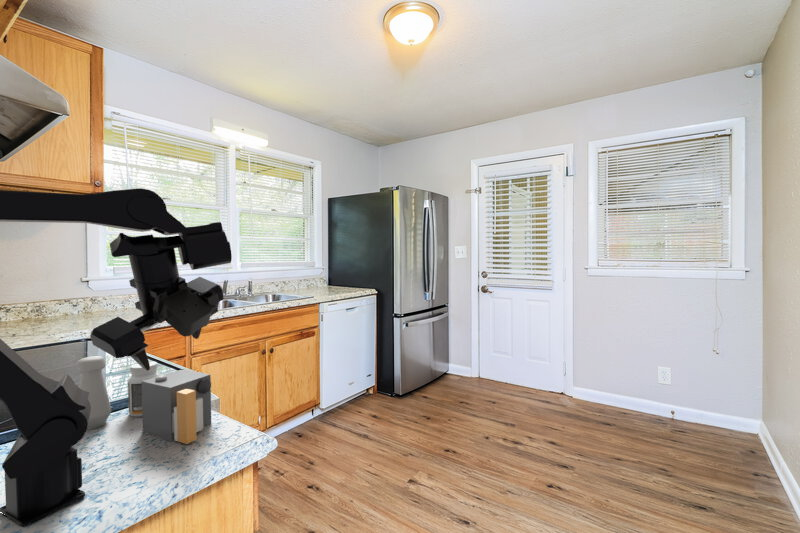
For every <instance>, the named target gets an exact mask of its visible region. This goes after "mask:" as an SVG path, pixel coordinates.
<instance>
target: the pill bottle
mask: <svg viewBox="0 0 800 533" xmlns="http://www.w3.org/2000/svg"><path fill="white" fill-rule="evenodd" d="M149 364H150V370H148V371H147V370H145V369H143V368H142V367H141V366H140V365H139V364H138V363H137V362H136V363H134V364H132V365H130V367H129V372H130V374H131V376H130V377H129V378H128V380H127V395H128V396H127V400H128V401H127V403H128V414H129V415H130V416H131V417H135V418H137V417H138V418H140V417H141V418H142V381H144V380H148V379H151V378H155V377H157V376H160V375H161V374H160V373H159V372H157V370H158V362H157V361H149Z"/></svg>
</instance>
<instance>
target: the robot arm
mask: <svg viewBox="0 0 800 533" xmlns="http://www.w3.org/2000/svg"><path fill="white" fill-rule="evenodd" d="M0 222H2V223H3V222H10V223H11V222H12V223H63V224H64V223H67V224H90V225H97V226H103V227H108V228H114V229H121V230H126V231H127V230H128V231H133V232H143V233H144V232H151V231H153V232H156V233H159V234H161V235H164V236H163V237H162V236H154V234H145V235H138V236H129V235H126V234H125V233H124V232H119V234H118V236H117V237H116V238H115V239H114V240H113V241H111V242H110V243H109V248H110V253H111V256H112V257H113V258H119V257H125V256H128V260H129V264H130V267H131V272H132V275H133V278H131V279H129V280H128V281H129V285H130V287H131V288H134V289H135V290H136V293H137V296H138V297H137V298H138V301H136V302H135V303H134V304H135V309H136V310H138V311H140V312H141V313H142V314H141V316H139V317H137V318H136V319H133V320H131V321H130V322H129V321H128V320H126V319H123V318H121V317H119V316H116V317H115V318H112V319H110V320H109V321H106V322H104V323H102V324H100V325H98V326H96V327H95V328H93V329H92V330H91V332H90V334H89V337H90V339H91V342H92V345H93V346H94V347H96V348H98V349H99V350H102V351H103V352H105V353H107V354H109V356H111V357H114V358H116V359H121V358H125V357H131V358H132V359H133V360H134V361H135V362H136V364H137V363H138V364H139V365H140V366H141V367H142V368H143V369H145V370H147V371H148V370H150V364H149V362H150V361H149V357H148V354H147V351H146V348H147V347H149V344H147V343H146V342H145V341H146V338H145V334H144V332H145V331H148V330H150V329H151V328H154V327H155V326H157V325H158V324H162V323H164V322H166V323H167V324H168V325H170V326H171V327H172V328H173V329H174V330H175V331H176V332H177V333H178V334H179V335H181V336H183V337H190V336H192V338H193V339H195V340H198V339H199V338H200V336H201V331H202V328H204V327H207V326H208V325H209V323H210V321H211V317H212V316H214V315H215V314H216V313H218V312H219V309H218V308H219V305H220V302H221V301H223V300H224V296H225V295H224V290H223V287H222V286H221V285H220V284H217V283H215V282H213V281H212V280H208V279H206V278H204V277H201V276H198V277H197V278H194V279H192V280H190V281H188V282H186V279H185V278H183V277H181V276H180V275H179V274H180V273H179V268H178V263H177V257H176V252H175V249H177V250H178V255H179V259H180V261H181V264H182V266H183V265H184V266H185V265H189V267H190V270H192V271H194V270H199V269H206V268H210V267H211V268H212V267H216V266H221V265H227V264H231V263H232V259H233V258H232V248H231V243H230V241H229V240H228V237H227V235H226V232H225V230H224V229H223V225H222V222H221V221H217V222H215V221H214V222H211V223H208V224H202V225H193V226H192V225H191V226H185V225H184V224H183V223H182V222H181V221H179V220H178V219H177V218H176V217H175V216H173V215H172V214H171V213H170V212H169V211H168V209H167V205H166V203H165V201H164V200H163V198H162V197H161V196H160V195H159V194H158V193H157V192H155V191H153V190H151V189H146V188H141V187H140V188H130V189H129V188H128V189H127V188H126V189H118V190H117V189H116V190H114V189H113V190H108V191H101V192H95V193H81V194H78V193H65V192H64V193H61V192H60V193H59V192H45V191H43V192H42V191H23V190H3V189H0ZM171 235H172V236H171ZM78 386H79V385H77V384H76V383H75V381H74V380H73V378H72V376H70V375H69V374H65V375H64V376H62V378H60V379H59V381H57V380H54V379H51V378H49V377H46V376H45V375H43V374H41V373H40V372H38V371H37V370H36V369H35V368H34V367H33V366H32V365H31V364H29V363H28V362H27V361H26V360H25V359H24V357H23V358H22V356H20V355H19V354H18V353H17V352H16V351H15V350H14V349H13V348H11V346H9V345H8V344H7V343H6V342H5V341H4V340H2V339H1V338H0V401H1V402H2V403H3V404H4V405H5V408H6V409H7V412H8V414H9V416H10V418H11V420H12V422H13V424H14V426H15V428H16V429H17V431H18V432H19V435H18V437H17V439H16V440H15V442H14V444H13V445H12V447H11V449H10V451H9V452H8V453H7V455H6V457H5V459H4V461H3V463H1V464H2V465H1V468H2V469H3V470H4V489H5V491H4V492H5V493H4V495H5V505H3V506H1V507H0V512H2V513H3V514H5V515H6V516H8V517H9V518H10V519H9V518H8V517H7V518H8V519H9V520H11V519H12V520H11V521H13V522H14V523H16V524H17V525H19V526H22V527H25V526H28V525H30V524H33V523H35V522H37V521H39V520H41V519H43V518H45V517H47V516H49V515H51V514H52V513H55V512H57V511H59V510H61V509H63V508H65V507H67V506H69V505H71V504H73V503H75V502H77V501H79V500H81V499H83V498H85V497H86V492H85V491H83V490H81V489H82V486H83V464H82V463H83V462H82V460H83V459H82V457H79V456H78V449H77V448H74V446H75V445H77V444H78V443H79V442H80V441H81V440H82V439H83V438H84V436H85V434H86V433H87V430H88V429H87V426H88V421H89V416H90V412H91V405H90V402H89V401H88V396H89V392H87V391H84V390H82V389H80V388H79V387H78ZM3 514H2V515H3ZM6 516H5V517H6Z"/></svg>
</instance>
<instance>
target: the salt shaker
mask: <svg viewBox="0 0 800 533" xmlns="http://www.w3.org/2000/svg"><path fill="white" fill-rule="evenodd" d="M104 368H106V359H105V357H104V356H101V355H94V356H93V355H92V356H91V355H90V356H86V357H83V358H81V359H78V361H77V363H76V370H77V372H80V375H79V382H78V385H77V386H78V387H79V388H80V389H82V390H84V391H87V392H89V396H88V401H89V402H90V405H91V412H90V416H89V421H88V426H87V430H93V429H95V428H99V427H102V426H104V425H105V424H106V422H107V420H108V418H109V416H110V415H111V413H112V406H111V403H110V398H109V394H108V393H109V392H108V390H107V386H106V381H105V377H104V372H103V369H104Z"/></svg>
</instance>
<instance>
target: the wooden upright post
mask: <svg viewBox="0 0 800 533" xmlns="http://www.w3.org/2000/svg"><path fill="white" fill-rule="evenodd" d="M202 430H204V427H203V398H197V399H196V391H195V390H190V389H184V390H181V391H178V392H177V406H176V407H174V441H175V442H179V443H181V444H184V445H185V444H186V445H188V444H190V443H192V442H194V441H196V440H198V439H197V438H198V437H197V433H198V432H201V431H202Z"/></svg>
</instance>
